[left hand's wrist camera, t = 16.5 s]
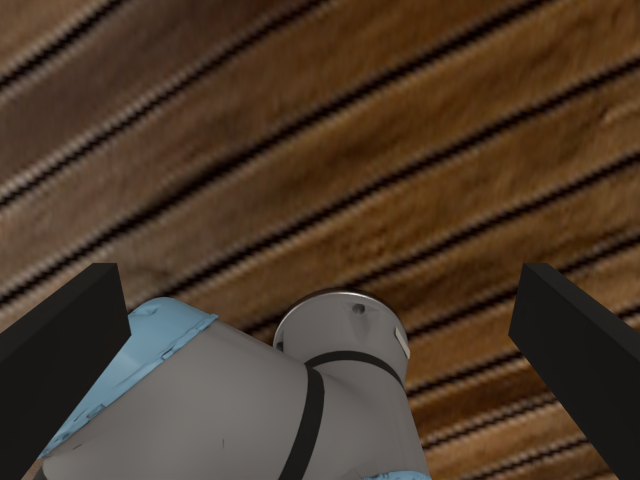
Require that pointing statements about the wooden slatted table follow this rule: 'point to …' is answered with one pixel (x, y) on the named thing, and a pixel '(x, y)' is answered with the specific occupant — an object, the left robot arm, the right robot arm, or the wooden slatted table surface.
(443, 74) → the wooden slatted table surface
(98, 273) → the left robot arm
